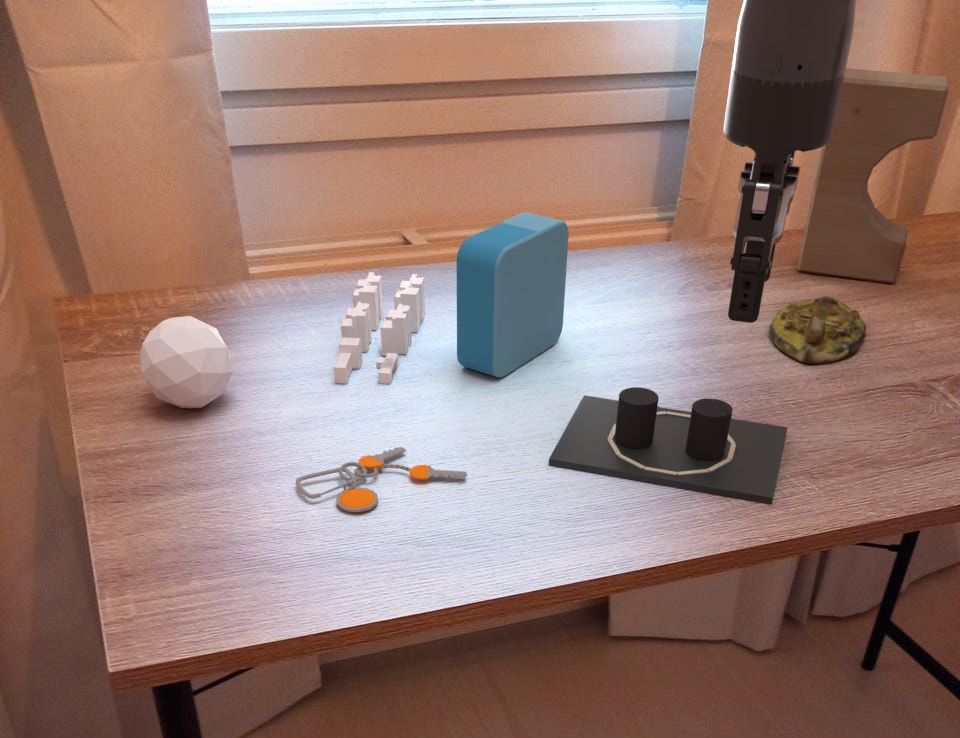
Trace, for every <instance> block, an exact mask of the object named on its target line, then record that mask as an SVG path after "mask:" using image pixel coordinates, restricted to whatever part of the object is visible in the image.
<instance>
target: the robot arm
mask: <svg viewBox="0 0 960 738" xmlns="http://www.w3.org/2000/svg"><path fill="white" fill-rule="evenodd" d="M856 6H857V0H743V2H742V7H741V9H740V13H739V17H738V22H737V27H736V34H735V40H734V41H735V42H734V49H733V55H732V56H733V57H732V64H731V71H730V76H729V77H730V78H729V85H728V93H727V98H726V99H727V100H726V106H725V107H726V108H725V114H724V121H723V127H722V129H723V135H724V137H725V139H727V140H728V141H729V142H730V143H732V144H734V145H736V146H738V147H742V148H744V147H747V148H749V149H751V150H752V151H753V154H754V158H753V161H745V163H744V167H743V171H741V172H740V175H739V180H738V186H737V197H738V204H737V209H736V214H735V219H734V224H733V237H734V239H735V242H734V249H733V254H732V256H731V257H730V260H729V265H731V267H730V270H731V271H734V274H733V279H732V286H731V292H730V298H729V305H728V311H727V317H728V319H729V320H731V321H733V322H739V323H741V322H742V323H750V324H753V323H756V322H757V320H758V319H759V315H760V310H761V305H762V299H763V293H764V287H765V283H766V282H768V281H769V279H770V278H771V273H772V268H773V261H774V257H775V256H774V255H775V252H776V251H775V250H776V244H778V243H780V241H781V240H782V239H783V238H782V237H783V234H784V229H785V224H786V218H787V215H789V213H790V209H791V204H792V202H793V201H794V197H795V192H796V190H797V186H798V182H799V176H800V172H801V165H795V164H794V159H795V153H796V152H798V151H800V152H802V153H805V152H810V151H815V150H818V149H820V148H821V149H822V147H823V146H824V145H826V144H827V143H828V142H829V141H830V140H831V138H832V135H833V130H834V125H835V120H836V115H837V110H838V105H839V101H840V96H841V90H842V85H843V80H844V76H845V71H846V68H847V66H848V61H849V55H850V51H851V46H852V40H853V36H854V35H853V34H854V29H855V22H856V21H855V20H856ZM744 251H745V252H744Z"/></svg>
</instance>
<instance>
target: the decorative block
mask: <svg viewBox="0 0 960 738" xmlns="http://www.w3.org/2000/svg"><path fill="white" fill-rule="evenodd" d="M949 92H950V80H949V78H948V77H947V76H946V75H934V74H921V73H908V72H895V71H882V70H872V69H871V70H870V69H857V68H847V67H846V71H845V76H844V80H843V85H842V90H841V96H840V101H839V105H838V110H837V115H836V120H835V125H834V130H833V135H832V138H831V140H830V141H829V142H828V143H827V144H826V145H824V146H823V147H821V150H820V156H819V162H818V166H817V170H816V175H815V180H814V184H813V190H812V194H811V199H810V203H809V208H808V213H807V217H806V224H805V227H804V230H803V231H804V232H803V237H802V241H801V246H800V251H799V255H798V260H797V265H796V269H797V271H798V272H799V273H806V274H815V275H822V276H828V277H838V278H844V279H854V280H860V281H868V282H875V283H882V284H883V283H884V284H891V285H893V284H894V283H896V282H897V280H898V276H899V272H900V269H901V265H902V262H903V259H904V254H905V251H906V247H907V242H908V233H909V232H908V228H907V227H906V226H905V225H902V224H900V223H897V222H895V221H891V220H888V219H887V217H885V215H884V214H882V212H880V211H879V209H877V208H876V206H875V204H874V202H873V199H872V197H871V194H870V193H869V191H868V188H869V187H868V186H869V180H870V177H871V175H872V173H873V170H874V168H875V167H876V166H877V165H878V164H879V163H880V162H882V161H883V160H884V159H885V158H886V157H887V156H888V155H889V153H891V152H893V151H895V150H897V149H899V148H901V147H902V146H904V145H906V144H908V143H909V142H915V141H917V142H918V141H924V140H932V139H934V138H935V137H936V136H937V135H938V131H939V128H940V124H941V121H942V116H943V113H944V110H945V106H946V103H947V99H948V96H949Z"/></svg>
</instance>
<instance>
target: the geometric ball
mask: <svg viewBox="0 0 960 738" xmlns="http://www.w3.org/2000/svg"><path fill="white" fill-rule="evenodd" d="M138 357H139V367H140V368H139V370H140V374H141V376H142V377H143V379H144V380H145V382H146V383H147V385H148V387H149V389H150V390H151V392H152V393H153V395H154V397H155V398H156V399H158V400H161V401H163V402H165V403H168V404H170V405H173V406H175V407H177V406H178V408H180V407H181V408H180V409H182V407H183V408H187V409H201V408H204V407H206V405H208V404H210V403H212V401H214V400H216V399H218V398H219V397H221V396H222V395H224V392H225V390H226V388H227V386H228V383H229V381H230V379H231V377H232V374H233V372H234V370H233V363H232V355H231V352H230V350H229V348H228V347H227V344H226V343H225V341H224V339H223V338H222V336H221V334H220V332H219V331H218V329H217V328H216V327H215V326H212V325H211V324H208V323H207V322H204V321H202V320H200V319H197V318H196V317H194V316H192V315H186V316H176V317H169V318H167V319H164V320H162V321H160V322H159V323H158V324H157V325H156V326H154V327H153V328H152V329H151V330H150V331H149V332H148V334H147V335H146V337H145V338H144V340H143V342H142V344H141V348H140V352H139V355H138Z"/></svg>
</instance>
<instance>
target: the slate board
mask: <svg viewBox="0 0 960 738" xmlns="http://www.w3.org/2000/svg"><path fill="white" fill-rule="evenodd" d="M618 402H619V399H618V400H616V399H611V398H604V397H599V396H592V395H586V394H584V395H583V396H582V398H581V400H580V402H579V403H578V405H577V407H576V409H575V411H574V412H573V415H572V416H571V418H570V420H569V421H568V424H567V426H566V427H565V429H564V431H563V432H562V434H561V436H560V438H559V440H558V442H557V443H556V445H555V447H554V449H553V451H552V453H551V455H550V456H549V458H548V465H549V466H554V467H558V468H565V469H570V470H576V471H581V472H588V473H592V474H599V475H604V476H610V477H615V478H621V479H627V480H633V481H638V482H644V483H648V484H649V483H650V484H656V485H662V486H667V487H672V488H679V489H683V490H690V491H695V492H699V493H701V492H702V493H707V494H713V495H718V496H723V497H728V498H729V497H730V498H735V499H741V500H746V501H753V502H758V503H762V504H770V505H772V504H773V502H774V501H773V500H774V495H775V490H776V485H777V481H778V476H779V472H780V467H781V462H782V456H783V451H784V446H785V442H786V437H787V432H788V427H787V426H783V425H776V424H770V423H763V422H757V421H750V420H744V419H739V418H732V417H731V422H730V427H729V432H728V437H727V443H726V448H725V453H724V456H723V457H722V458H720V459H718V460H714V461H702V460H698V459H695V458H692V457H691V456H689V455H688V454H687V453H686V450H685V448H686V442H687V436H688V429H689V423H690V417H691V411H686V410H680V409H674V408H669V407H668V408H667V407H661V406H657V414H656V421H655V429H654V436H653V442H652V444H651V445H650V446H648V447H645V448H641V449H631V448H626V447H623V446H621V445H619V444H618V443H617V442H616V441H615V429H616V420H617V411H618Z"/></svg>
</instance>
